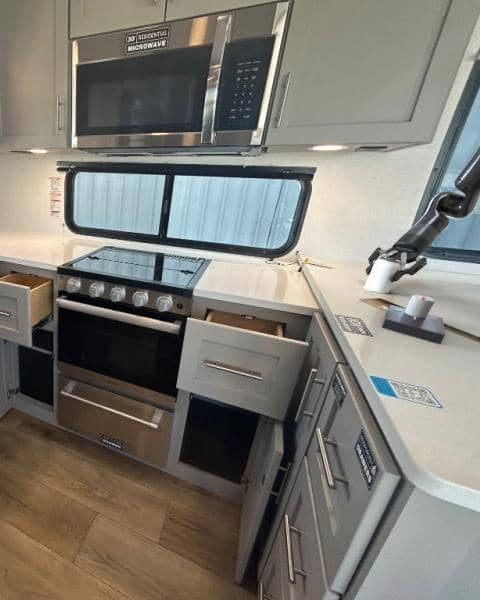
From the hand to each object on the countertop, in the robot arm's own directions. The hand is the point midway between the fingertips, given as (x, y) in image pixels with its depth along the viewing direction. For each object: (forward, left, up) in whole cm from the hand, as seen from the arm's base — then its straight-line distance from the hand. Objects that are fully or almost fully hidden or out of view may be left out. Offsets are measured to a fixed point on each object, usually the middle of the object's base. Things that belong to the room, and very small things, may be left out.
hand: (379, 276), depth 109 cm
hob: (+14, +23, -6) cm, 28 cm away
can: (-2, 0, -6) cm, 7 cm away
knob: (+12, +21, -4) cm, 24 cm away
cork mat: (+4, +11, -6) cm, 13 cm away
